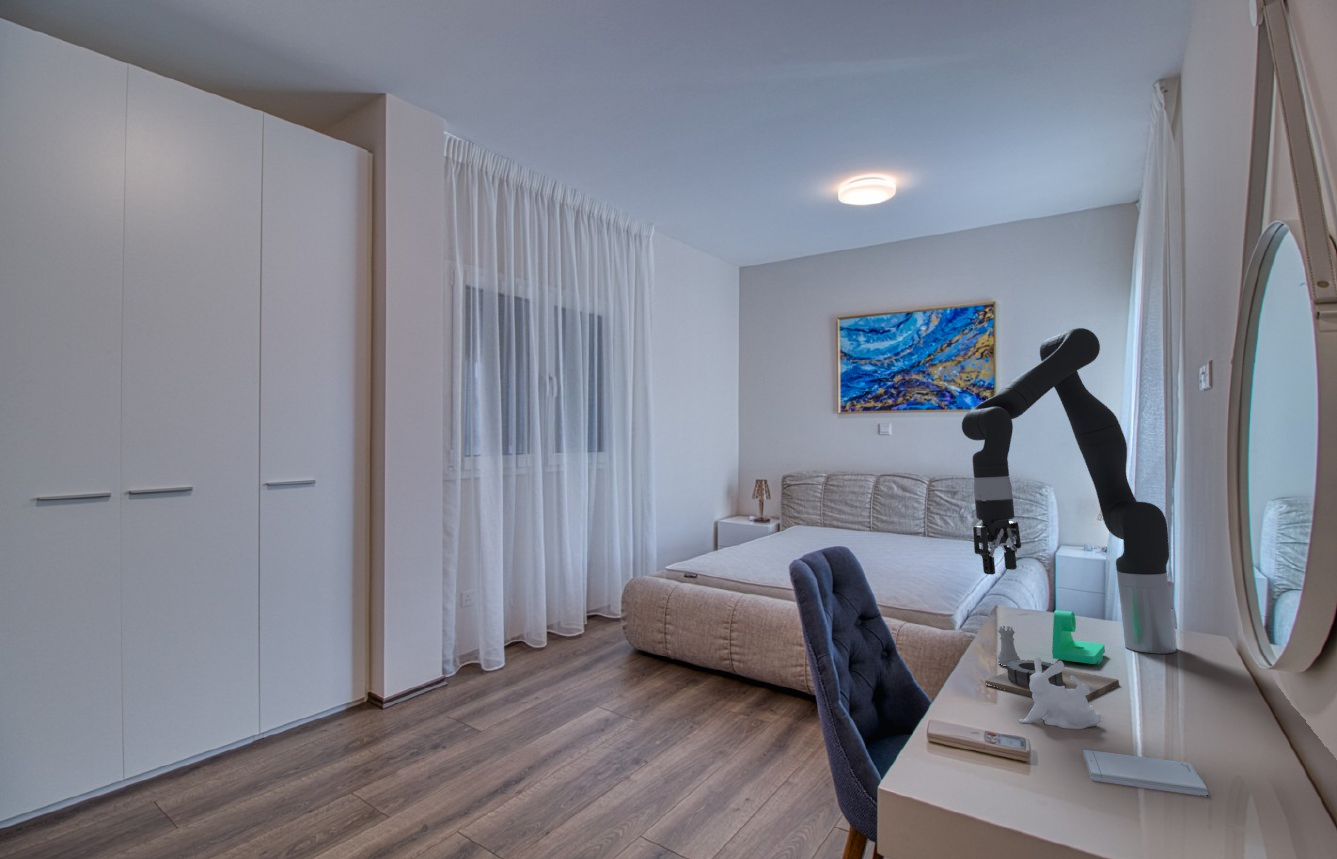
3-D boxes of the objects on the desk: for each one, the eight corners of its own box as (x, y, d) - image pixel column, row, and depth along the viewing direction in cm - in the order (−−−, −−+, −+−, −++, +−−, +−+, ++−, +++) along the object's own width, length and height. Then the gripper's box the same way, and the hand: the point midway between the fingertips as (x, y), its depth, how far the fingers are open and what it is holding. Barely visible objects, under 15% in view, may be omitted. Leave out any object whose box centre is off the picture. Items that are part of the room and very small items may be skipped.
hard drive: (1189, 761, 86) (1082, 747, 92) (1208, 788, 79) (1090, 771, 84) (1190, 773, 86) (1083, 758, 92) (1209, 801, 79) (1091, 783, 84)
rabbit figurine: (1017, 723, 104) (1012, 663, 105) (1018, 708, 111) (1013, 652, 112) (1104, 734, 98) (1098, 671, 99) (1099, 718, 105) (1094, 659, 106)
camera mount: (1095, 669, 130) (1089, 619, 131) (1053, 663, 135) (1048, 615, 136) (1106, 655, 138) (1101, 608, 139) (1066, 650, 144) (1061, 605, 145)
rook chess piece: (1019, 662, 136) (1015, 625, 137) (1023, 668, 132) (1019, 629, 133) (996, 661, 138) (992, 624, 139) (999, 667, 134) (996, 629, 134)
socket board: (1033, 666, 133) (1031, 650, 133) (1119, 684, 119) (1117, 666, 120) (985, 685, 123) (984, 667, 123) (1073, 707, 110) (1071, 686, 110)
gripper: (994, 496, 145) (1001, 566, 144) (958, 499, 138) (965, 574, 136) (1027, 495, 139) (1035, 569, 138) (991, 499, 131) (999, 577, 130)
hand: (1000, 571), depth 137 cm, fingers open, 8 cm apart
